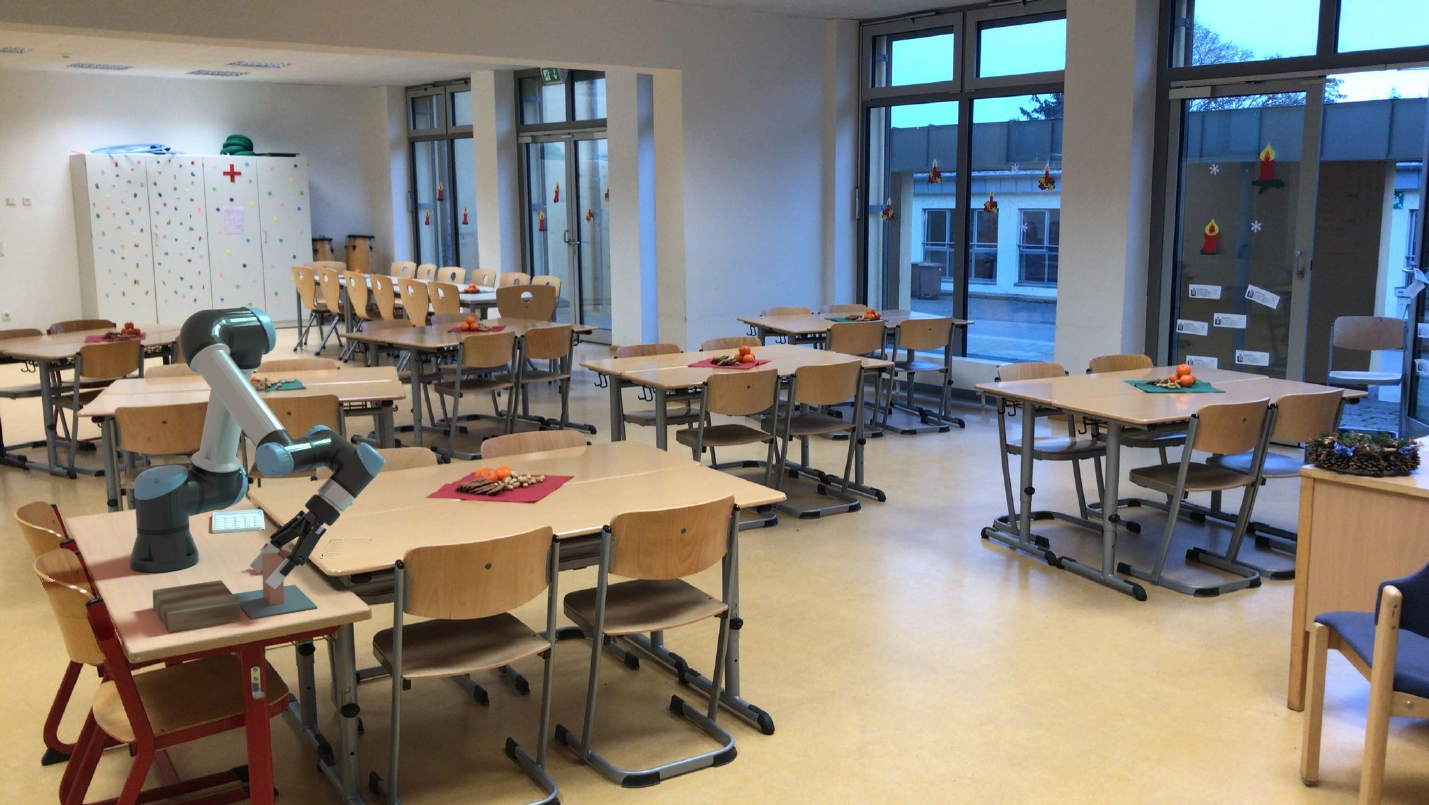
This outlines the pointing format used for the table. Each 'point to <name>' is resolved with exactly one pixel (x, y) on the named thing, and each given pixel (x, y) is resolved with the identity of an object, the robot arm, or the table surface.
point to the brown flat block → (196, 606)
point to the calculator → (237, 521)
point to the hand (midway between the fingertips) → (261, 577)
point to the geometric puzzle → (281, 553)
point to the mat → (261, 608)
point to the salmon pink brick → (268, 567)
